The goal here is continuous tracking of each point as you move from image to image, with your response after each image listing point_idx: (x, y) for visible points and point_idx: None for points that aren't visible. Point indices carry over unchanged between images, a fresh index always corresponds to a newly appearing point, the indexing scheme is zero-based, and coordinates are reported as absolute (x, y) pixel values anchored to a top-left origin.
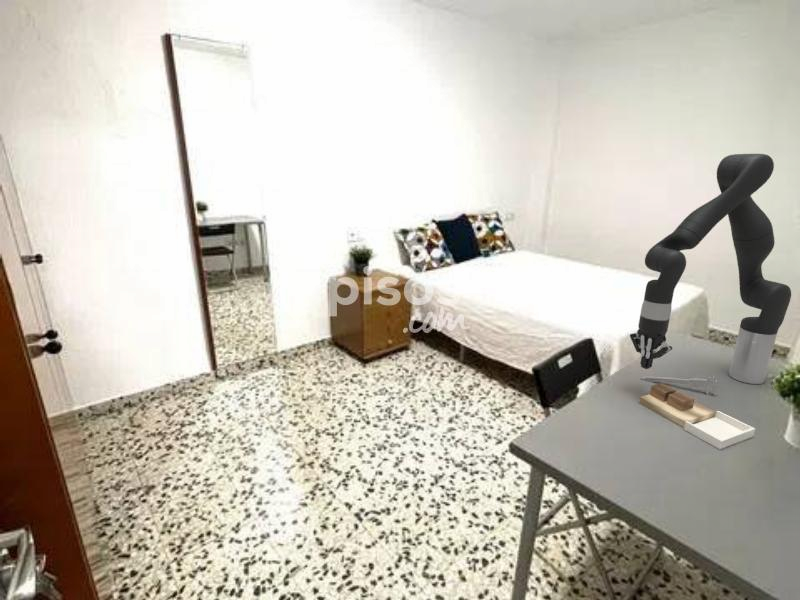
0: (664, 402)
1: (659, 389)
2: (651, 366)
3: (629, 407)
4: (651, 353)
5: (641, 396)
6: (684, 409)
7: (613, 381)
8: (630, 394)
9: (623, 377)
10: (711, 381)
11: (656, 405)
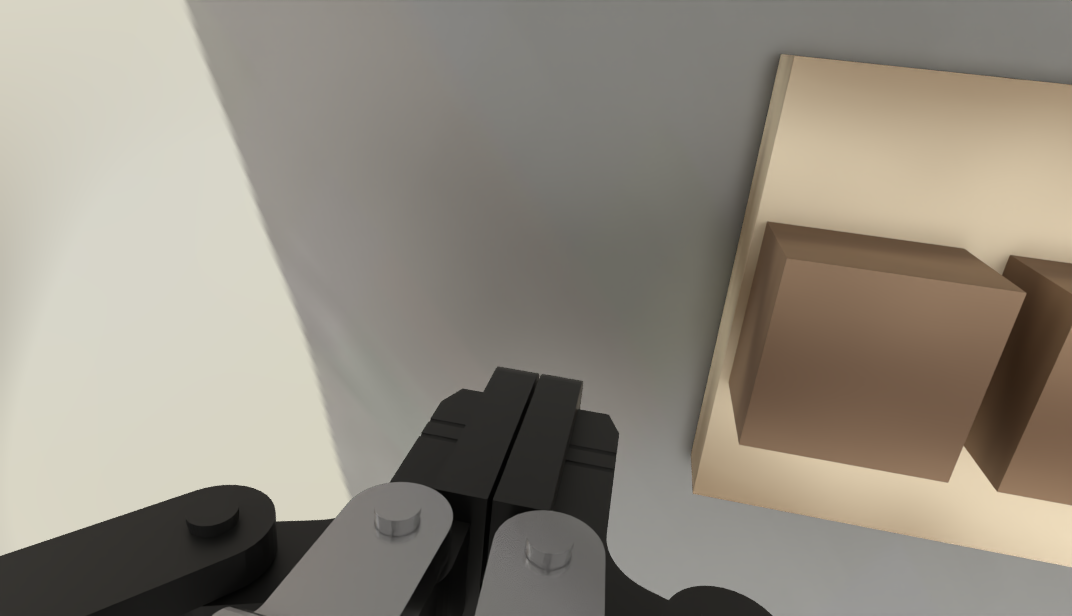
0: None
1: (854, 455)
2: (614, 430)
3: (686, 570)
4: (505, 610)
5: (696, 475)
6: None
7: (313, 283)
8: None
9: (285, 113)
10: None
11: (884, 526)
